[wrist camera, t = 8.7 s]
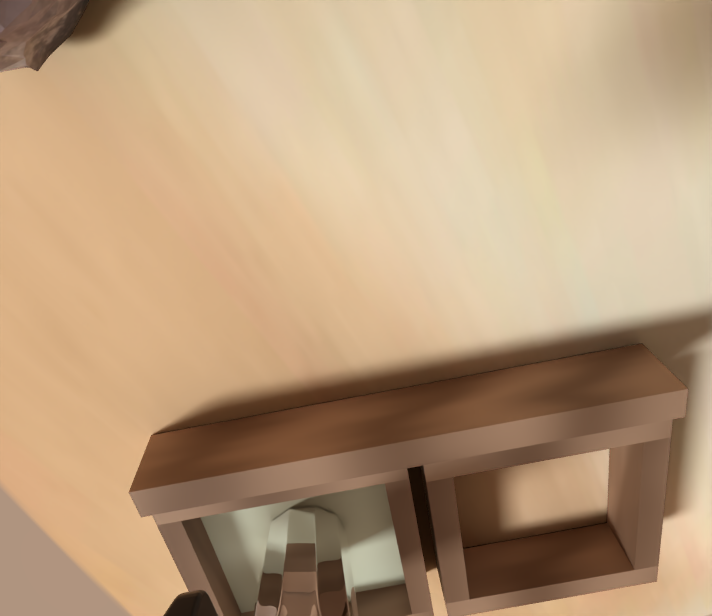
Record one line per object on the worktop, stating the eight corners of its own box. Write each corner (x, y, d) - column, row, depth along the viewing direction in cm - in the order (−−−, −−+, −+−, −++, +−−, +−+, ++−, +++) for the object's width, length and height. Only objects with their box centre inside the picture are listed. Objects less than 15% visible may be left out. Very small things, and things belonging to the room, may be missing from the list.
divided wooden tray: (641, 343, 22) (688, 388, 19) (629, 536, 26) (665, 594, 24) (151, 435, 22) (128, 492, 19) (228, 608, 27) (218, 673, 24)
